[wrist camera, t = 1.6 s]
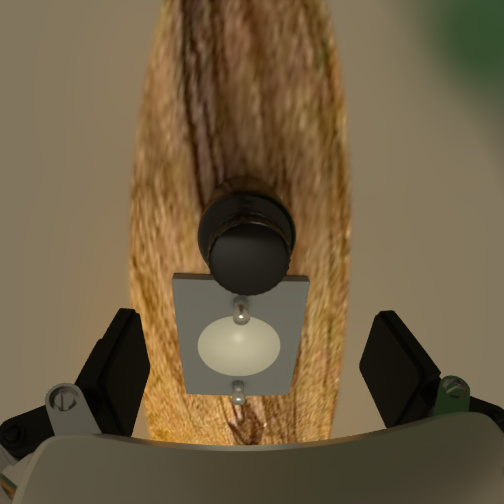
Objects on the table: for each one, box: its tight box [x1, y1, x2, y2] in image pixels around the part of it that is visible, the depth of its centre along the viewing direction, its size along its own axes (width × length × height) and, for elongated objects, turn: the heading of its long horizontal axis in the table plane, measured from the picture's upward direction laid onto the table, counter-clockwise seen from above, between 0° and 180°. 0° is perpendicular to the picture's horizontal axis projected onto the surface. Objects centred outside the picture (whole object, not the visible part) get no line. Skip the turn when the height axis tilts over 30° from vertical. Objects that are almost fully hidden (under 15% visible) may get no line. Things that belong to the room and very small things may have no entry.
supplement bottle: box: [197, 176, 296, 296], centre depth 22 cm, size 7×7×12 cm
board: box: [172, 274, 310, 405], centre depth 32 cm, size 18×14×4 cm
